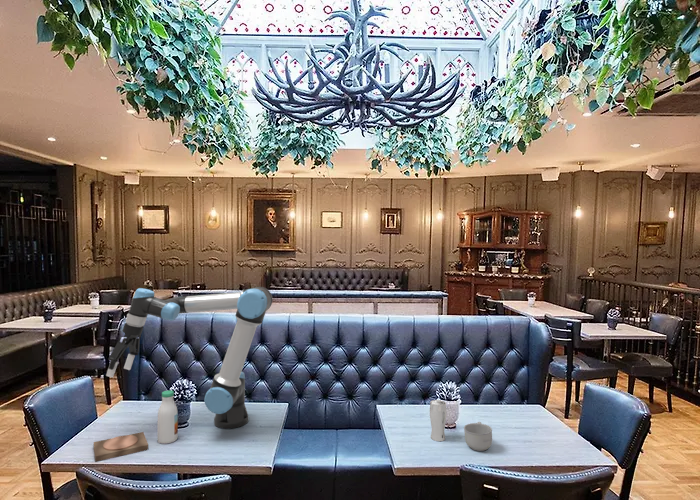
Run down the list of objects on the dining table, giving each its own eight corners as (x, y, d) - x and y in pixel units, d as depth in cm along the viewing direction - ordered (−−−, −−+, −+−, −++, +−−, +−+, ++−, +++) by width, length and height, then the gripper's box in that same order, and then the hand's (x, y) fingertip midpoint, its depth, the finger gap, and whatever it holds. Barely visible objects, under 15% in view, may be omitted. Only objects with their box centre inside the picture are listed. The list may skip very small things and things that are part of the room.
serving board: (143, 436, 180) (143, 430, 180) (148, 449, 168) (148, 443, 168) (93, 447, 170) (93, 440, 170) (95, 461, 158) (95, 454, 158)
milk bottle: (170, 445, 172) (170, 395, 172) (153, 443, 173) (153, 394, 173) (181, 436, 180) (181, 389, 179) (165, 435, 181) (165, 388, 181)
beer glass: (428, 440, 177) (428, 404, 177) (431, 433, 184) (431, 398, 184) (445, 443, 175) (445, 406, 175) (447, 436, 182) (447, 400, 182)
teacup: (488, 456, 164) (488, 435, 164) (460, 449, 170) (460, 429, 170) (496, 442, 176) (496, 423, 176) (470, 436, 181) (470, 417, 181)
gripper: (140, 318, 194) (125, 363, 193) (109, 325, 169) (92, 377, 168) (156, 323, 194) (141, 368, 193) (127, 330, 169) (110, 382, 168)
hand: (118, 372), depth 181 cm, fingers open, 13 cm apart
